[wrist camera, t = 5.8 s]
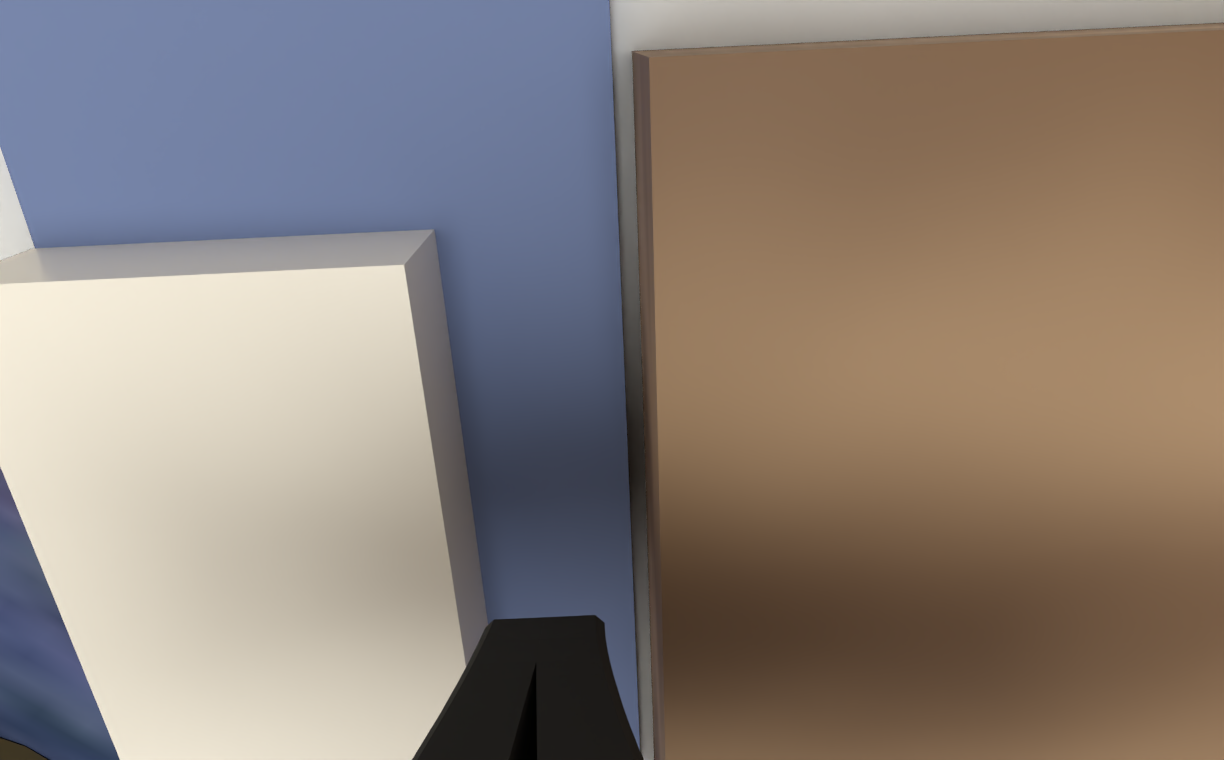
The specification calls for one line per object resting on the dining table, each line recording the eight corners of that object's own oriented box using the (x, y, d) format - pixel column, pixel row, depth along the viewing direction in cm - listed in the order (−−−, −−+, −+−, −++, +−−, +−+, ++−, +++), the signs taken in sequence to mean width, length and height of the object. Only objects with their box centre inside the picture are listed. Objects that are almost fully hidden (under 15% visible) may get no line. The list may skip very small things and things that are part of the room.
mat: (641, 812, 17) (643, 829, 17) (248, 830, 17) (241, 848, 17) (606, -70, 11) (606, -73, 10) (-41, -38, 11) (-65, -41, 10)
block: (134, 792, 13) (189, 702, 15) (482, 776, 13) (496, 688, 15) (-73, 287, 10) (32, 248, 12) (404, 265, 10) (434, 229, 12)
